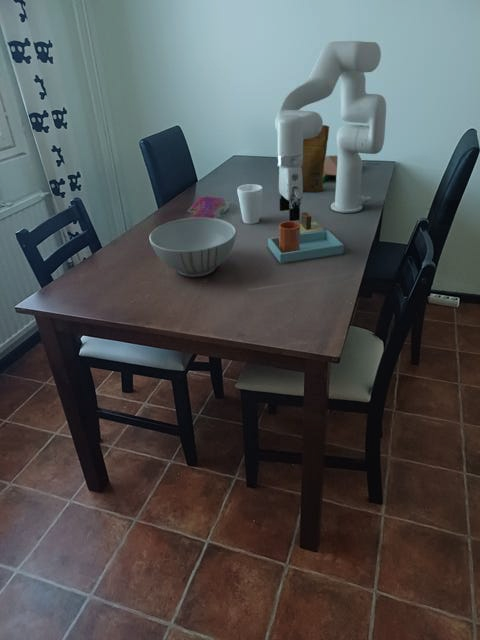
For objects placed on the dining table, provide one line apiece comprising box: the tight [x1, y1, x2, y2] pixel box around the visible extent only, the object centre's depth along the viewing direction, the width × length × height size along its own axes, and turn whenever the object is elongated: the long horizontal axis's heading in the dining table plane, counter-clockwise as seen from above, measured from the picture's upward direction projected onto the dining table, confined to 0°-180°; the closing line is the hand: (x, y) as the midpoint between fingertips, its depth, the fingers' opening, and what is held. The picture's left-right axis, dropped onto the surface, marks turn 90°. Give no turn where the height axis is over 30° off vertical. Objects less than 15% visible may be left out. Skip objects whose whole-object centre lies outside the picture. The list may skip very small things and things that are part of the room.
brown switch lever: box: [300, 211, 312, 230], centre depth 168 cm, size 5×2×5 cm, turn 14°
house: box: [322, 155, 338, 182], centre depth 231 cm, size 23×33×8 cm
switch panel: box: [299, 221, 324, 234], centre depth 170 cm, size 12×9×3 cm
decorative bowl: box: [148, 216, 238, 278], centre depth 149 cm, size 27×27×12 cm
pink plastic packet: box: [187, 196, 232, 219], centre depth 191 cm, size 30×15×5 cm, turn 167°
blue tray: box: [267, 229, 345, 264], centre depth 159 cm, size 22×14×3 cm, turn 103°
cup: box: [278, 220, 301, 253], centre depth 156 cm, size 7×7×10 cm
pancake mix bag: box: [301, 124, 330, 193], centre depth 205 cm, size 7×19×28 cm, turn 75°
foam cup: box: [236, 183, 264, 225], centre depth 182 cm, size 10×9×13 cm
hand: (289, 215), depth 151 cm, fingers open, 9 cm apart
